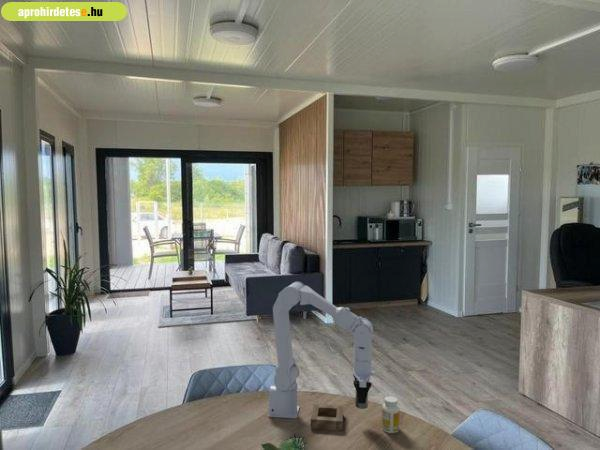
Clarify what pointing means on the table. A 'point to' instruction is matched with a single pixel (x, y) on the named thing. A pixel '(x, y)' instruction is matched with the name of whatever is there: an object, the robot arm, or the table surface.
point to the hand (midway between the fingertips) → (361, 399)
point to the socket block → (327, 417)
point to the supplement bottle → (390, 415)
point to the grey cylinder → (360, 405)
